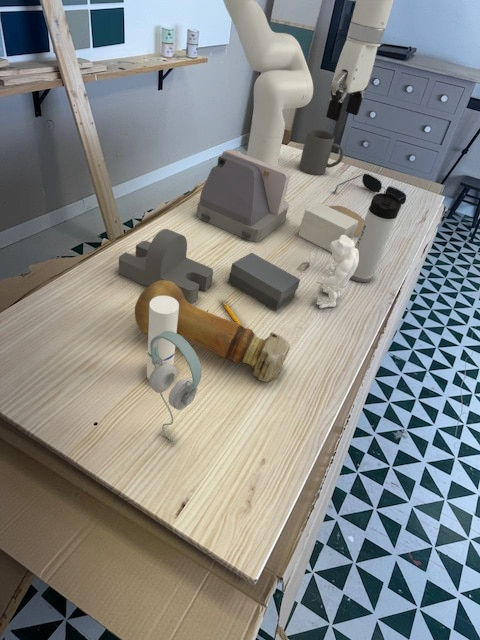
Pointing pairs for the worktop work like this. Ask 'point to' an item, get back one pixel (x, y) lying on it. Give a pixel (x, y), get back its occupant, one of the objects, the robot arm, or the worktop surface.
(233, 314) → the pencil
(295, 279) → the grey stack
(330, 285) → the figurine
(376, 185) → the sunglasses
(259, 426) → the worktop surface
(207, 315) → the stamp
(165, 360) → the tube
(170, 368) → the headphones
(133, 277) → the bracket
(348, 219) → the white box
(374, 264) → the travel mug
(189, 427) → the worktop surface
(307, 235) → the off-white rectangular block
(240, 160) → the instant camera
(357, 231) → the clay tablet
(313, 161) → the mug
